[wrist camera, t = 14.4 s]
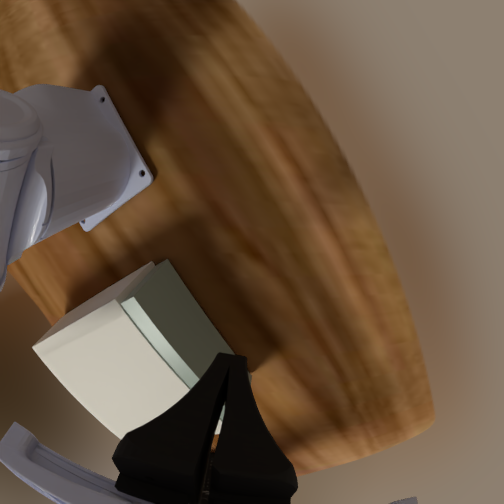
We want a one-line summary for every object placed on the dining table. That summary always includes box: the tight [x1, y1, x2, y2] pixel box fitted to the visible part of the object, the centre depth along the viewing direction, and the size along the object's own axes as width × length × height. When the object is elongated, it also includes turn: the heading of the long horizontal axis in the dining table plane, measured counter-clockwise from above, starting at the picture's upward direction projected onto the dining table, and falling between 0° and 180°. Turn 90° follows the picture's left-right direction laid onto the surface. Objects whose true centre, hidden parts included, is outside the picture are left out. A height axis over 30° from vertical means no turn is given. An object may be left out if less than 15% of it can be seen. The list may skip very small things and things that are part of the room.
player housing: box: [32, 261, 223, 439], centre depth 22 cm, size 14×14×6 cm
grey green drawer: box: [121, 259, 252, 420], centre depth 22 cm, size 13×13×6 cm
